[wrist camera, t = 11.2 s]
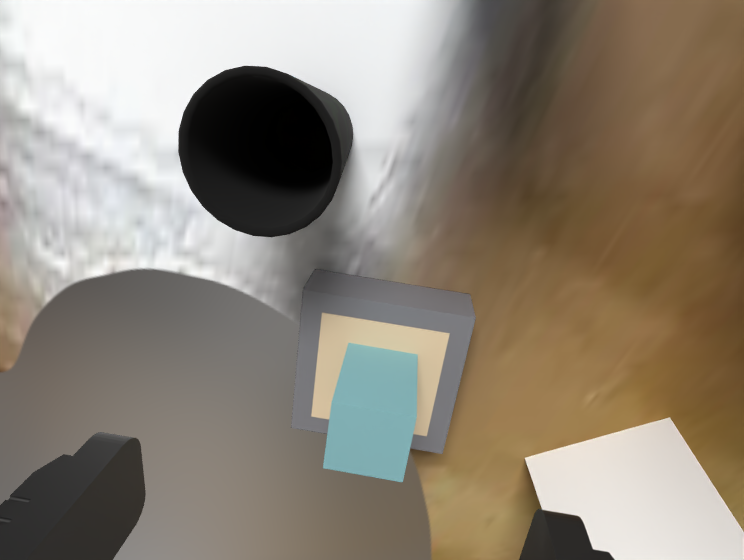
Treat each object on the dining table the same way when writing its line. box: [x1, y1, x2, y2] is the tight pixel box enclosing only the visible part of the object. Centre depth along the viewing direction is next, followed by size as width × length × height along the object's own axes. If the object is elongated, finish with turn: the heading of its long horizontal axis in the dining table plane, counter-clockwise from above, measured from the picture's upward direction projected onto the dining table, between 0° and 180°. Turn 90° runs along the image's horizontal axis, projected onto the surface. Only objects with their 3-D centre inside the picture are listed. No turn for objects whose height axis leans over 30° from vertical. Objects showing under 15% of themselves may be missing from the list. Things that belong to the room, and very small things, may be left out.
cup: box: [178, 66, 353, 237], centre depth 28 cm, size 8×8×12 cm
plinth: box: [291, 269, 476, 454], centre depth 37 cm, size 12×12×4 cm
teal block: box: [323, 343, 418, 482], centre depth 32 cm, size 5×5×7 cm
